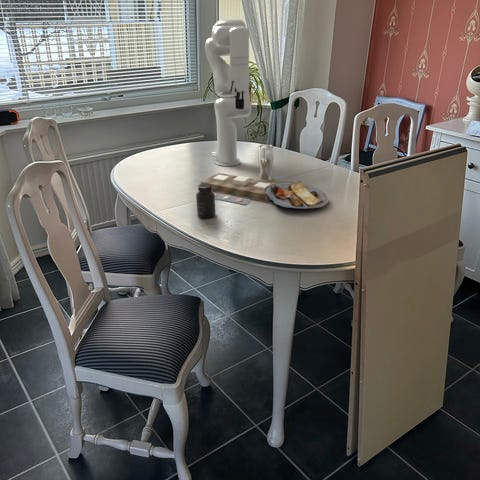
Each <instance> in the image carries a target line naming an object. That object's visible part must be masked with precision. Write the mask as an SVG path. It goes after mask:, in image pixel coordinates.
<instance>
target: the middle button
mask: <svg viewBox="0 0 480 480" xmlns="http://www.w3.org/2000/svg"><path fill="white" fill-rule="evenodd" d="M237 176H238V177H236V178H234V179H233V184H234V185H239V186H245V185H247V184H249V183H250V179H251V178H250V177H246V176H241V175H237Z"/></svg>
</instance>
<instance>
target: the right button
mask: <svg viewBox="0 0 480 480" xmlns="http://www.w3.org/2000/svg"><path fill="white" fill-rule="evenodd" d="M268 186H271V184H268V183H263V182H259V183H257V184H256V185H254V188H255V189H260V190H266V189H267V188H268Z"/></svg>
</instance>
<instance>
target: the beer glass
mask: <svg viewBox="0 0 480 480" xmlns="http://www.w3.org/2000/svg"><path fill="white" fill-rule="evenodd" d="M274 149H275V148H274V145H273V144H261V145H259V146H258V152H257V154H258V156H257V157H258V158H257V161H258V166H259V177H258V180H262V181H267V182H272V181H273V172H272V170H273V165H274V160H275V150H274Z"/></svg>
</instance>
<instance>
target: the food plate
mask: <svg viewBox="0 0 480 480" xmlns="http://www.w3.org/2000/svg"><path fill="white" fill-rule="evenodd" d="M275 183H276V184H273V185H271V186H268V188H267V189H266V191H265V192H266V193H267V195H268V196H269V197H270V198H271V201H273V203H274V204H275V205H278V206H280V207H282V208H291V209H292V208H293V209H303V210H305V209H315V208H321V207H323V206H325V205H327V204H328V202H329V197H328V195H327V194H326V193H325V192H323V191H322V190H320V189H318V187H314V186H312V185H309V184H304V183H302V181H300V180H299V181H297V182H292V181H291V182H285V181H284V182H275Z"/></svg>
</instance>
